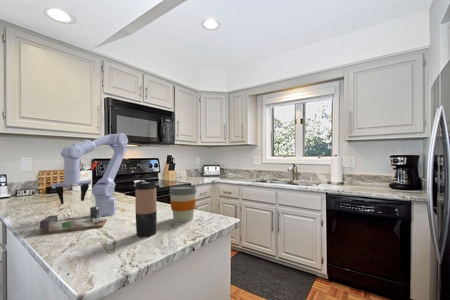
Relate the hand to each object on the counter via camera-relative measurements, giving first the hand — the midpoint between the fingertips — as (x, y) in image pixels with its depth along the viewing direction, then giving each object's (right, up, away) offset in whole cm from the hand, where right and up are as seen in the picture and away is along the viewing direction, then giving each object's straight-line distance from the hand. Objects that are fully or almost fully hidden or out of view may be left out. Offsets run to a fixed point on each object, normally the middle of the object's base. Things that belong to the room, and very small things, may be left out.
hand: (72, 202), depth 97 cm
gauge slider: (+12, -7, -4) cm, 15 cm away
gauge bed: (+5, -9, -5) cm, 12 cm away
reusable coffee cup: (+50, -9, +3) cm, 51 cm away
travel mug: (+39, -9, -15) cm, 43 cm away
